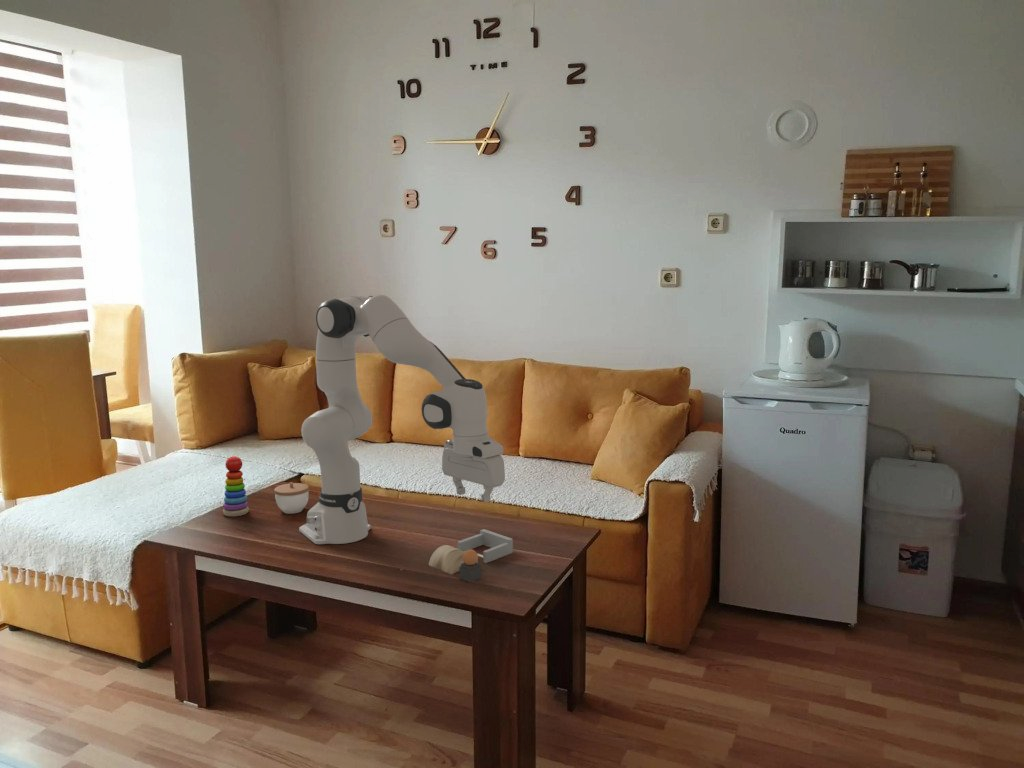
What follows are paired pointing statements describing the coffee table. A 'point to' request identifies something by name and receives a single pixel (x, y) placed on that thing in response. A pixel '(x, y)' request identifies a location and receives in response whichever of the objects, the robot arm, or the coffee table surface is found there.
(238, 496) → the stacking toy
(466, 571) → the cube with raised frame
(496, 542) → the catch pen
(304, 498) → the lidded jar
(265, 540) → the coffee table surface
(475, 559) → the ball
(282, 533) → the coffee table surface
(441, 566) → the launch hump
